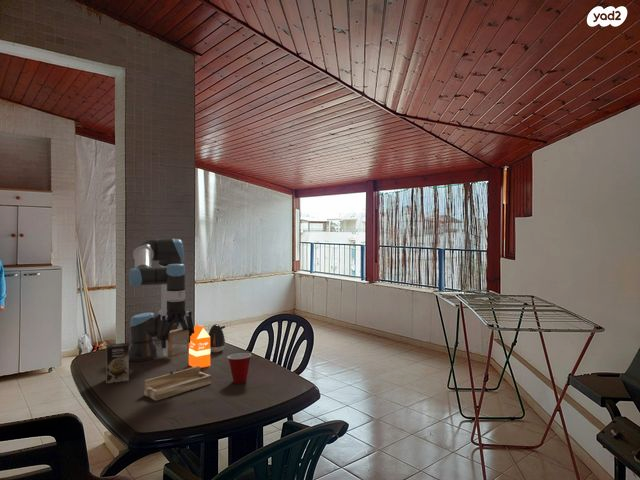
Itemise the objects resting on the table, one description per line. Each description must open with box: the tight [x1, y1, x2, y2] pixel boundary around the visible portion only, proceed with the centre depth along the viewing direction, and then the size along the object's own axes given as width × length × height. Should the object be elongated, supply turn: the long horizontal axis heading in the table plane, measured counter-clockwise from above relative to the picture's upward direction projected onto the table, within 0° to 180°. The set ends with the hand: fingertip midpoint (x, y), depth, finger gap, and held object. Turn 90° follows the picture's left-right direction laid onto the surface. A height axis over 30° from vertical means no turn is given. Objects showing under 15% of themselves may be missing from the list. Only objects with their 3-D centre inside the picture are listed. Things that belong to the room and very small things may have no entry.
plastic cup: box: [226, 352, 252, 384], centre depth 193 cm, size 11×11×12 cm
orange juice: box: [188, 324, 211, 369], centre depth 216 cm, size 8×9×20 cm
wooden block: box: [163, 328, 189, 359], centre depth 182 cm, size 5×9×10 cm, turn 139°
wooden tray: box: [143, 366, 212, 401], centre depth 183 cm, size 9×26×7 cm, turn 140°
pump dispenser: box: [208, 323, 226, 353], centre depth 242 cm, size 10×10×15 cm
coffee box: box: [105, 342, 130, 384], centre depth 194 cm, size 9×6×16 cm
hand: (176, 353), depth 182 cm, fingers closed on wooden block, 9 cm apart
